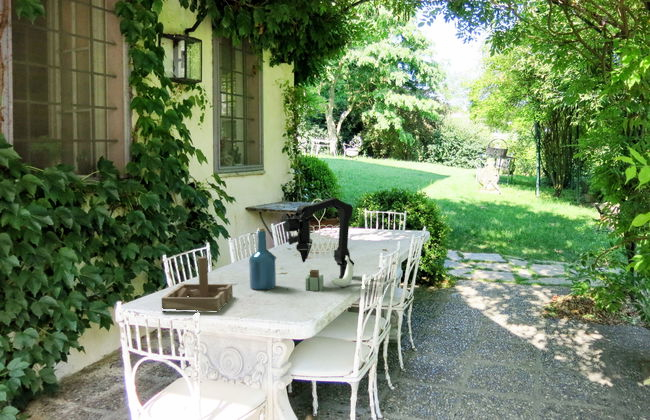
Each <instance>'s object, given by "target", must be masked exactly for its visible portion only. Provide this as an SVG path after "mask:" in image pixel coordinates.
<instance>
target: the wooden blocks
mask: <svg viewBox="0 0 650 420" xmlns="http://www.w3.org/2000/svg"><path fill="white" fill-rule="evenodd" d="M197 263H198V264H197V265H198V284H199V290H200V292H199V290H197V289H195V290H190V297H189V298H210V297H209V294H208V284H209V277H208V274H209V273H208V257H207V256H198V259H197ZM221 291H226V303H227V304H229V301H228V289H227V288H224V287H222V288H218V289H217V295H218V294H219V293H220V292H221ZM176 297H184V298H188V297H187V289H185V288H182V289H181V290H180V292H179V293H178V294H177V296H176Z"/></svg>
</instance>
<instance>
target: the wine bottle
mask: <svg viewBox="0 0 650 420" xmlns="http://www.w3.org/2000/svg"><path fill="white" fill-rule="evenodd" d="M276 261H277V257H276V256H275V255H274V254H273V253H272V252H270V250H268V249H267V232H266V230H265V227H260V228H258V231H257V251H256V252H254V253H252V254H251V256H250V257H249V263H248V264H249V265H248V266H249V267H248V268H249V287H250V288H251V289H253V290H257V291H261V290H263V291H265V290H271V289H274V288H275V287H276V286H277V270H276V269H277V268H276V267H277V264H276V263H277V262H276Z"/></svg>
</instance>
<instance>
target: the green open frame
mask: <svg viewBox="0 0 650 420" xmlns="http://www.w3.org/2000/svg"><path fill="white" fill-rule="evenodd" d="M323 289H324V274H320V275H319V289H318V278H310V274H307V275H306V277H305V291H320V292H321V291H323Z"/></svg>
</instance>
